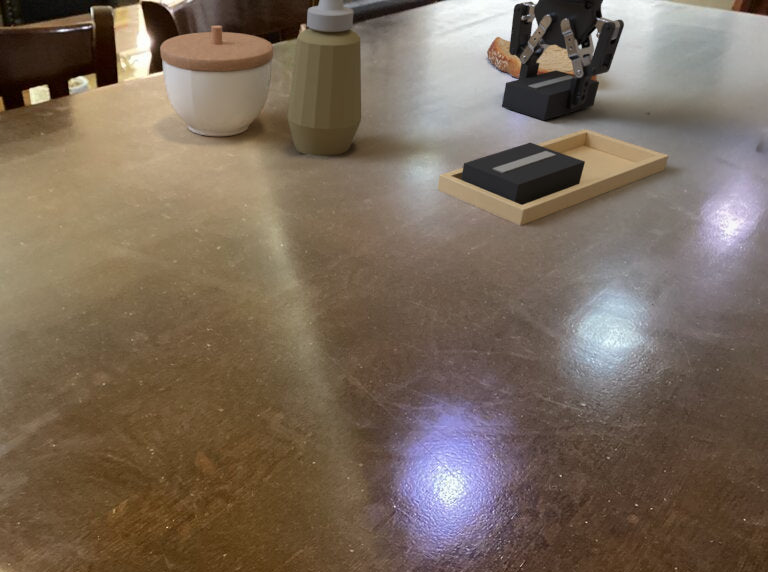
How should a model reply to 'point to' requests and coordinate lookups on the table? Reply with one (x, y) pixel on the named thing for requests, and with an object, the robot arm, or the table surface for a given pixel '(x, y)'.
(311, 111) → the squeeze bottle
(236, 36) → the lidded bowl
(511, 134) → the table surface
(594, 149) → the tray
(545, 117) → the pad
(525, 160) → the pad
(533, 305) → the table surface
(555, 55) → the slice of bread
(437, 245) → the table surface
